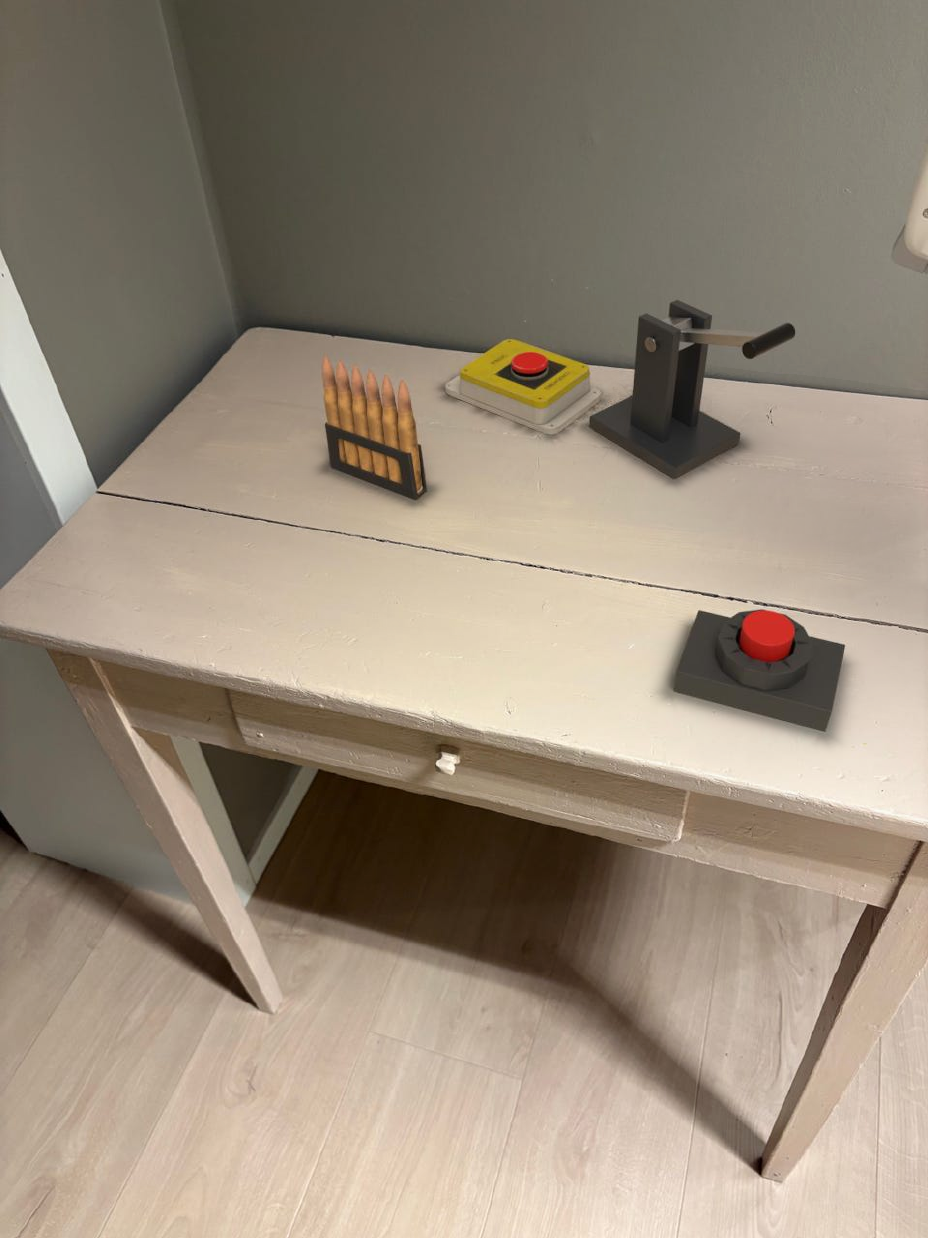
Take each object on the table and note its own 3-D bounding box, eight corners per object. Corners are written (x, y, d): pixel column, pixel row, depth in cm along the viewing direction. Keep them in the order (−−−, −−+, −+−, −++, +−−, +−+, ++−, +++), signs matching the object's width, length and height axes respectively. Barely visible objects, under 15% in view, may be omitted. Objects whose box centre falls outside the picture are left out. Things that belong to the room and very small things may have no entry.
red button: (794, 634, 70) (798, 617, 69) (785, 667, 68) (790, 650, 67) (744, 622, 72) (748, 605, 70) (734, 655, 69) (738, 638, 68)
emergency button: (553, 398, 94) (438, 355, 101) (553, 436, 97) (441, 391, 104) (607, 359, 99) (493, 320, 106) (604, 396, 102) (494, 356, 109)
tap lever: (796, 345, 81) (794, 317, 80) (756, 365, 79) (754, 336, 78) (683, 337, 91) (679, 311, 90) (645, 354, 89) (641, 329, 88)
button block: (839, 664, 73) (851, 627, 70) (825, 731, 68) (837, 694, 66) (695, 629, 76) (701, 592, 74) (673, 691, 72) (678, 654, 69)
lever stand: (739, 443, 94) (760, 322, 86) (674, 479, 91) (689, 356, 82) (652, 395, 102) (663, 279, 93) (588, 426, 98) (593, 308, 89)
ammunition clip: (330, 467, 95) (310, 357, 87) (342, 457, 96) (323, 348, 88) (416, 500, 91) (404, 387, 82) (427, 490, 92) (417, 378, 83)
